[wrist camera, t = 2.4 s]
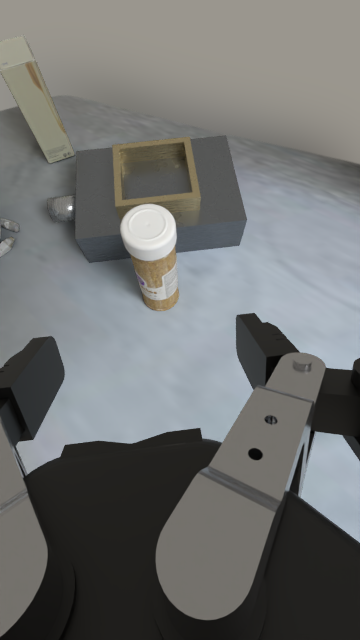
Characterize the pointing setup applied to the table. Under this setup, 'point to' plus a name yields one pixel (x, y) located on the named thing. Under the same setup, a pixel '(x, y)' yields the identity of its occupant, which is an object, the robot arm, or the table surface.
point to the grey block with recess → (154, 194)
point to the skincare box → (33, 98)
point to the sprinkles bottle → (153, 253)
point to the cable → (7, 243)
